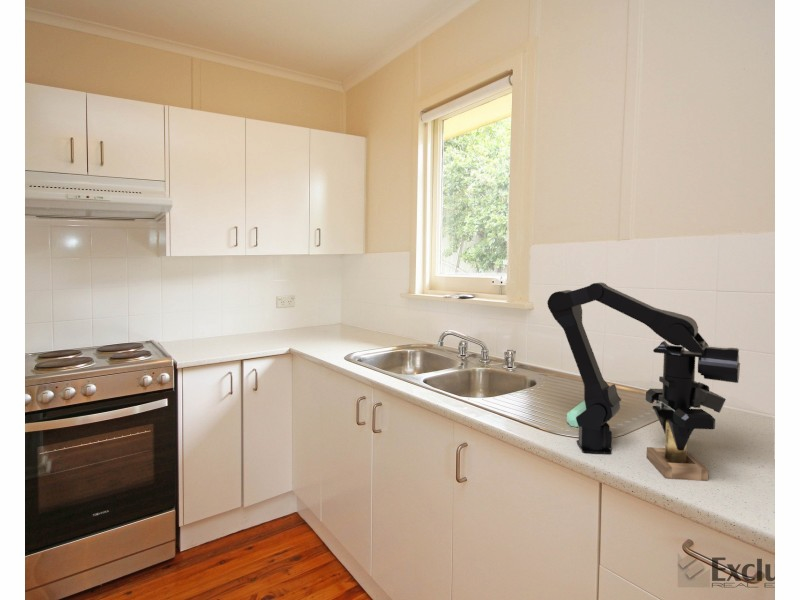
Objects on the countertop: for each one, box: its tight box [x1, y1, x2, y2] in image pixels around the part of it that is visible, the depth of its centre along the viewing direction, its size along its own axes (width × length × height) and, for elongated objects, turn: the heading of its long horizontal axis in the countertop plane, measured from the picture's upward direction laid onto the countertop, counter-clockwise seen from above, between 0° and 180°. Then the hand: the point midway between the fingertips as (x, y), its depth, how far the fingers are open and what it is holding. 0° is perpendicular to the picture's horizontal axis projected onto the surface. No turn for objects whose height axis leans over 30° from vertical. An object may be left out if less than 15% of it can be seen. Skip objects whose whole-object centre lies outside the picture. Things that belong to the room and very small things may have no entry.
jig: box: [646, 446, 709, 482], centre depth 97 cm, size 8×10×2 cm
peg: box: [664, 420, 688, 463], centre depth 97 cm, size 4×4×8 cm
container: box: [566, 400, 586, 428], centre depth 131 cm, size 6×6×25 cm
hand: (675, 445), depth 97 cm, fingers closed on peg, 4 cm apart
